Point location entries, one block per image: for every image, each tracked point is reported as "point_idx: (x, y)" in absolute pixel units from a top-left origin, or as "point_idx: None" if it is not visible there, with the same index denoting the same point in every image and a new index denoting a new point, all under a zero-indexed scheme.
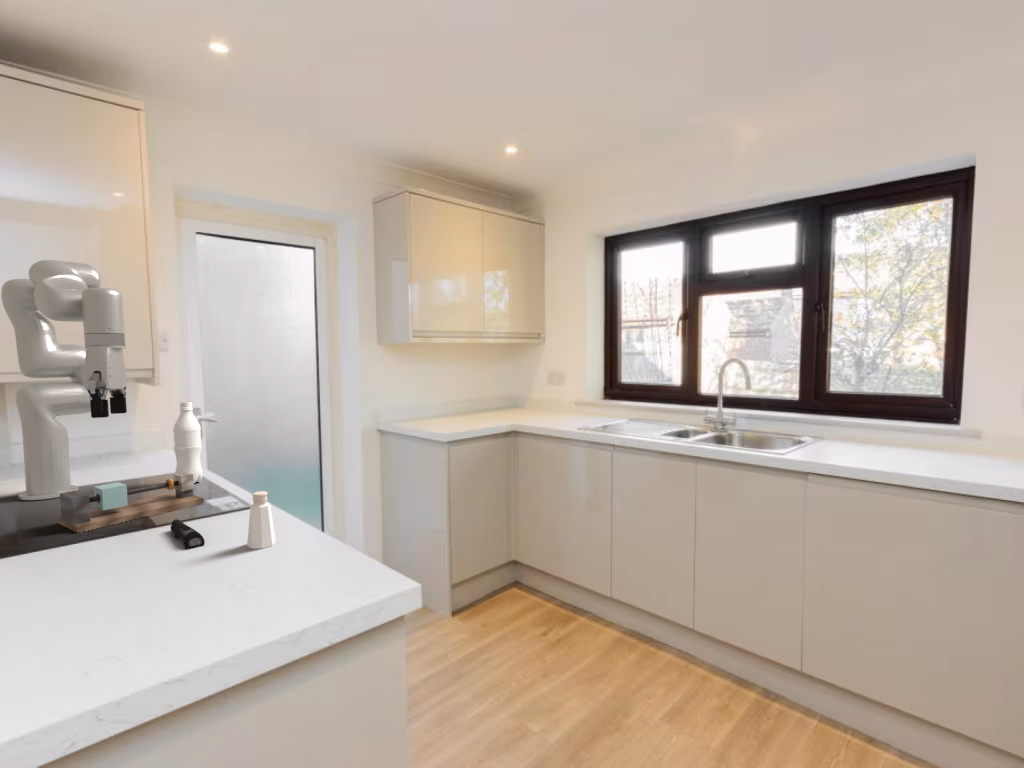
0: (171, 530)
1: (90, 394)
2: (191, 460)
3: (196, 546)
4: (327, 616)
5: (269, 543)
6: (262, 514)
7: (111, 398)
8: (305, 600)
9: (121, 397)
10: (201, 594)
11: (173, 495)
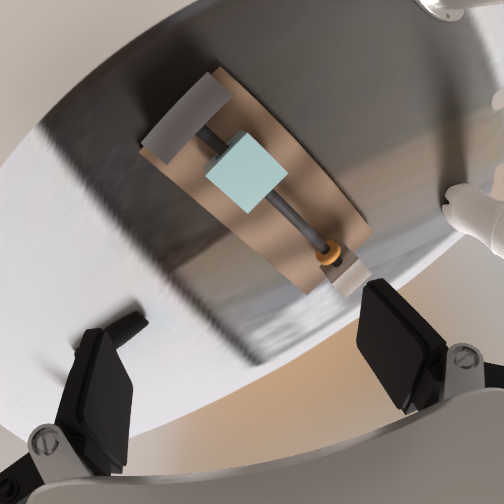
0: (126, 316)
1: (12, 469)
2: (473, 231)
3: None
4: (13, 433)
5: None
6: None
7: (418, 357)
8: (22, 427)
9: (406, 401)
10: (4, 383)
11: (347, 229)
